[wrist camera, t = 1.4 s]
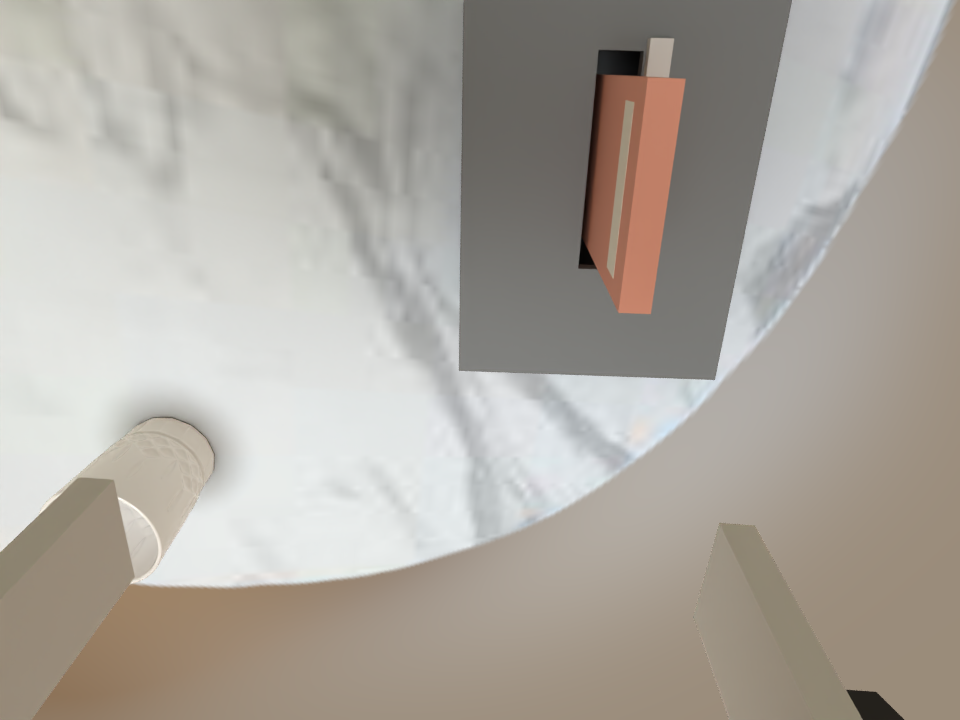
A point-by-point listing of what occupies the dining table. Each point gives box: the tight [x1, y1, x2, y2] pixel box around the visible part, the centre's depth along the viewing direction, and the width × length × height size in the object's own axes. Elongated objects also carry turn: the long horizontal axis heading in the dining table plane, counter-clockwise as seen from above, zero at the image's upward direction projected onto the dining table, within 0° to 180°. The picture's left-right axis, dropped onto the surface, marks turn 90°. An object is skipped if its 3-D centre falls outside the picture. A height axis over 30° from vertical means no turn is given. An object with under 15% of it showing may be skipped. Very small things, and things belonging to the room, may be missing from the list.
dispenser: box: [459, 0, 792, 380], centre depth 34 cm, size 22×14×11 cm, turn 179°
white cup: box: [38, 418, 214, 584], centre depth 45 cm, size 8×8×10 cm
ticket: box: [581, 74, 686, 314], centre depth 27 cm, size 8×1×12 cm, turn 179°
